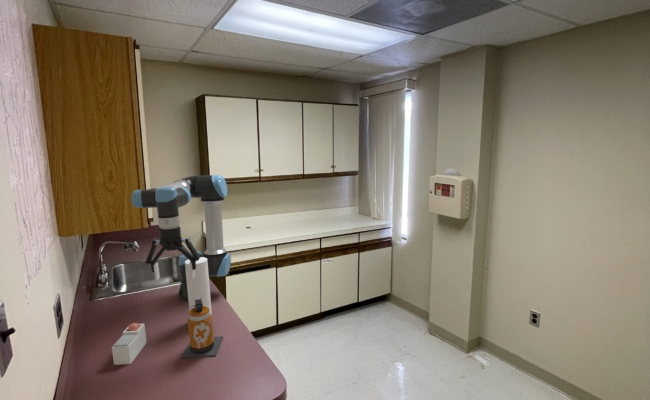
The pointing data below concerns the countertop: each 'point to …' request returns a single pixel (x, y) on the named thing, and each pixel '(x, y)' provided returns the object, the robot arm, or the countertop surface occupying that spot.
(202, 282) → the cylinder container
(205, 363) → the countertop surface
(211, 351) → the drip mat
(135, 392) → the countertop surface
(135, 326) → the salmon pink capsule
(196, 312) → the canister
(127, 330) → the white rectangular box
